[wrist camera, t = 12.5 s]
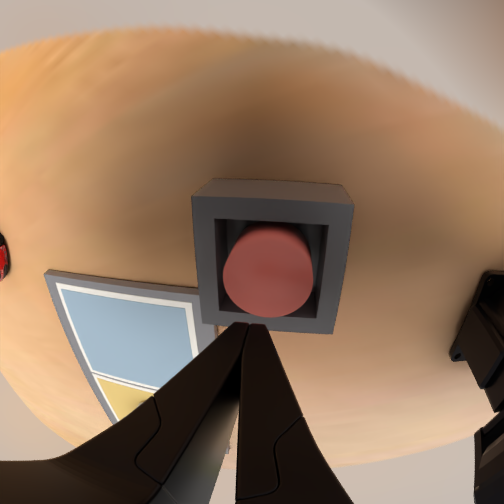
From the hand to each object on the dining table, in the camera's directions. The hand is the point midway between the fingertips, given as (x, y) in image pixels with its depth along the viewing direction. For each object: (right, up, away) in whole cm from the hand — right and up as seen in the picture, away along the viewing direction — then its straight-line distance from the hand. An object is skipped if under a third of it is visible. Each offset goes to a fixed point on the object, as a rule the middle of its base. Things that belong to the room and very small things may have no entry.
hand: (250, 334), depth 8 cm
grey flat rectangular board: (-8, -7, +12) cm, 16 cm away
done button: (+1, +2, +4) cm, 5 cm away
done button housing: (+1, +3, +6) cm, 7 cm away
